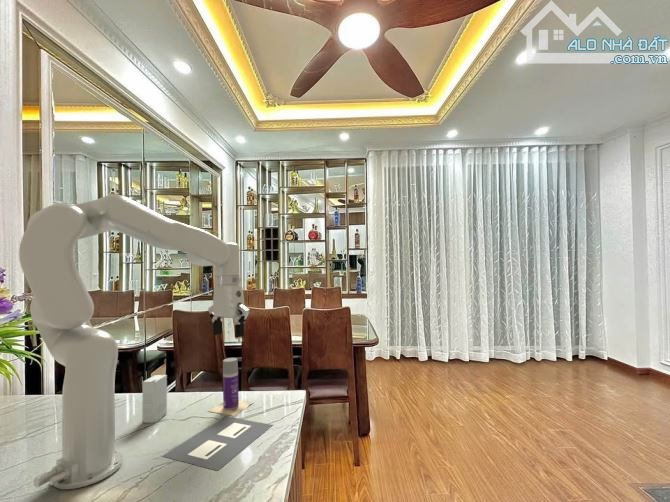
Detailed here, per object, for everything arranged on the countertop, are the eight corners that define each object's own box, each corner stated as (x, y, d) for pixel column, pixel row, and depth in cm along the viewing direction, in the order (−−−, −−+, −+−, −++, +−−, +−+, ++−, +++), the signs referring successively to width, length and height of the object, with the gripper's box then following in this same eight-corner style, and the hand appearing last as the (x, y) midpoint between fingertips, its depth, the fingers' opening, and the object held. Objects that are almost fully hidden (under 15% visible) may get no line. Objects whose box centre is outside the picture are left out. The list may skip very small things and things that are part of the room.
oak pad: (233, 416, 100) (233, 415, 100) (207, 411, 104) (207, 411, 104) (253, 402, 109) (253, 402, 109) (229, 399, 113) (229, 398, 113)
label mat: (217, 470, 73) (217, 470, 73) (161, 456, 80) (161, 455, 80) (272, 425, 93) (272, 424, 93) (224, 416, 100) (224, 415, 100)
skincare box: (154, 413, 103) (153, 374, 104) (167, 413, 103) (167, 374, 103) (141, 423, 97) (141, 381, 97) (156, 423, 97) (155, 381, 97)
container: (234, 410, 103) (233, 362, 104) (220, 409, 104) (219, 361, 105) (241, 404, 108) (240, 357, 109) (228, 403, 109) (227, 357, 110)
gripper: (256, 280, 105) (257, 335, 104) (218, 280, 113) (219, 331, 113) (238, 282, 98) (239, 340, 97) (199, 282, 107) (200, 335, 106)
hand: (228, 335), depth 105 cm, fingers open, 9 cm apart
